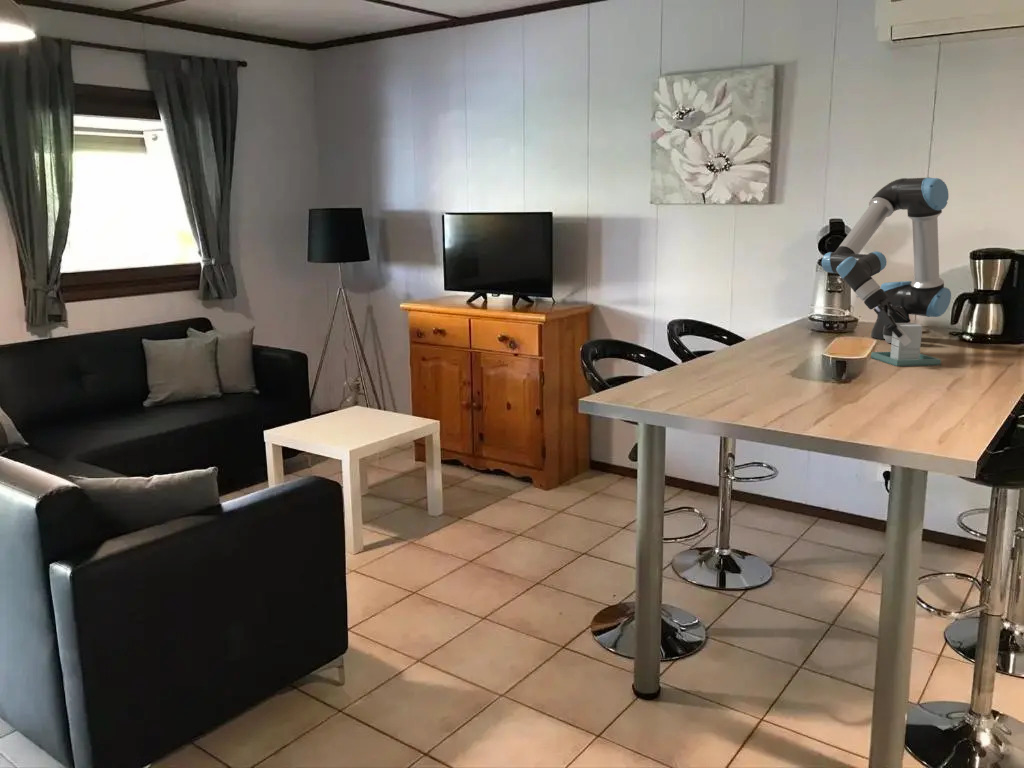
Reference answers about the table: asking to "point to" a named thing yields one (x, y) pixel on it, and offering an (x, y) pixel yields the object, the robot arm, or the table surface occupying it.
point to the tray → (922, 360)
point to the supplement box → (912, 348)
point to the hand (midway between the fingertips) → (913, 341)
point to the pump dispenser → (885, 332)
